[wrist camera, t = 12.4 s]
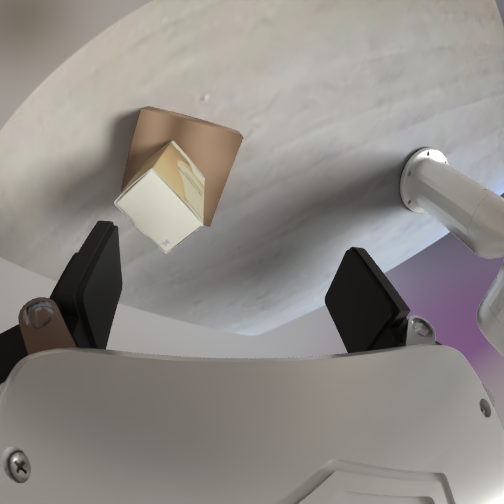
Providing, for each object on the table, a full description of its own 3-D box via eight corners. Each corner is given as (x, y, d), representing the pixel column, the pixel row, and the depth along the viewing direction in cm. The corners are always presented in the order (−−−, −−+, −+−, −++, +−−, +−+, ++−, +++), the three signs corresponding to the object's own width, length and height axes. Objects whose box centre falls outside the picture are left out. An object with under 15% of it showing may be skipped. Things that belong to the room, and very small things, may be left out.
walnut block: (238, 130, 33) (243, 137, 29) (208, 209, 38) (209, 226, 34) (149, 106, 29) (141, 108, 25) (127, 189, 34) (118, 204, 30)
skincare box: (206, 177, 31) (208, 228, 21) (178, 199, 31) (167, 258, 22) (171, 136, 27) (151, 166, 17) (142, 161, 28) (111, 204, 18)
